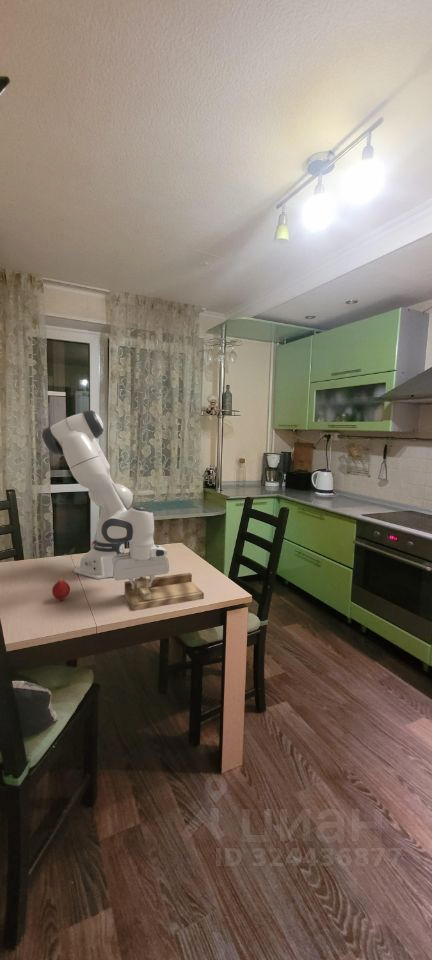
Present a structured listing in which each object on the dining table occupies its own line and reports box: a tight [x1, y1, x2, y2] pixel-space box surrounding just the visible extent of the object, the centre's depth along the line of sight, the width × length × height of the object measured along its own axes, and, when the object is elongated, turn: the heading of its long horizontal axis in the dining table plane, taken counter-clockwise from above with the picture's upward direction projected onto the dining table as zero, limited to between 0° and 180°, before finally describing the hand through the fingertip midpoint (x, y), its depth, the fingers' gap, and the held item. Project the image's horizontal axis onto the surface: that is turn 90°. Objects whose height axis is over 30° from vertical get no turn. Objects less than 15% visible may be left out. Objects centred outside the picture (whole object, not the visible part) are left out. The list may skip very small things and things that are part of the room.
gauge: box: [134, 576, 151, 601], centre depth 136 cm, size 4×10×5 cm, turn 26°
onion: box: [51, 578, 71, 601], centre depth 135 cm, size 6×6×8 cm
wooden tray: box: [124, 572, 205, 611], centre depth 141 cm, size 26×14×5 cm, turn 116°
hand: (141, 587), depth 139 cm, fingers closed on gauge, 4 cm apart
